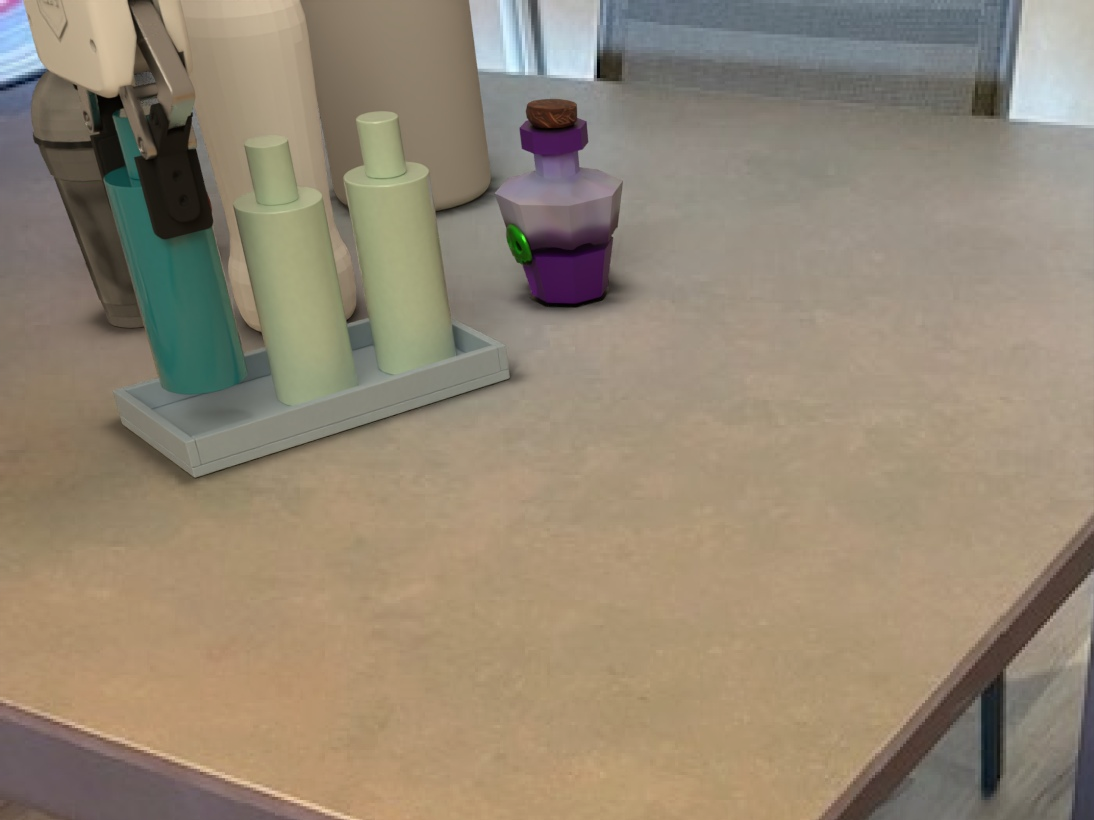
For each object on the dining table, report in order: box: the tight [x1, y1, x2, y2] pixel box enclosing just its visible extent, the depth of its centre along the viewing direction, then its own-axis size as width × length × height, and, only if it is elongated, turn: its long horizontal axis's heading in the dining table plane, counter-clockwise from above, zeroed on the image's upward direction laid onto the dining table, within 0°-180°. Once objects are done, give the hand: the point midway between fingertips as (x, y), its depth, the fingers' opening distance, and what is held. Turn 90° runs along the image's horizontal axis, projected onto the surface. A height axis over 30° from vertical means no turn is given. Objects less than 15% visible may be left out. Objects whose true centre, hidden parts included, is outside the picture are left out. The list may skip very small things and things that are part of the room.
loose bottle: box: [104, 105, 248, 395], centre depth 91 cm, size 5×5×14 cm
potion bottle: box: [494, 98, 624, 308], centre depth 109 cm, size 9×9×12 cm
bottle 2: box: [233, 135, 359, 406], centre depth 95 cm, size 5×5×14 cm
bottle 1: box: [180, 0, 357, 333], centre depth 101 cm, size 8×8×30 cm
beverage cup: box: [30, 69, 144, 329], centre depth 106 cm, size 7×7×20 cm
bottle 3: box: [343, 111, 457, 375], centre depth 99 cm, size 5×5×14 cm
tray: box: [112, 317, 511, 479], centre depth 100 cm, size 21×10×2 cm, turn 129°
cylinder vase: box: [300, 0, 492, 212], centre depth 123 cm, size 12×12×25 cm
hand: (161, 217), depth 89 cm, fingers closed on loose bottle, 5 cm apart
